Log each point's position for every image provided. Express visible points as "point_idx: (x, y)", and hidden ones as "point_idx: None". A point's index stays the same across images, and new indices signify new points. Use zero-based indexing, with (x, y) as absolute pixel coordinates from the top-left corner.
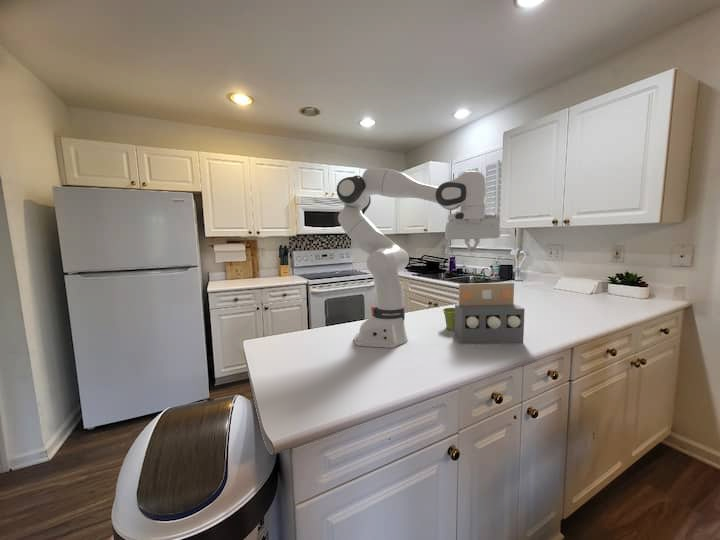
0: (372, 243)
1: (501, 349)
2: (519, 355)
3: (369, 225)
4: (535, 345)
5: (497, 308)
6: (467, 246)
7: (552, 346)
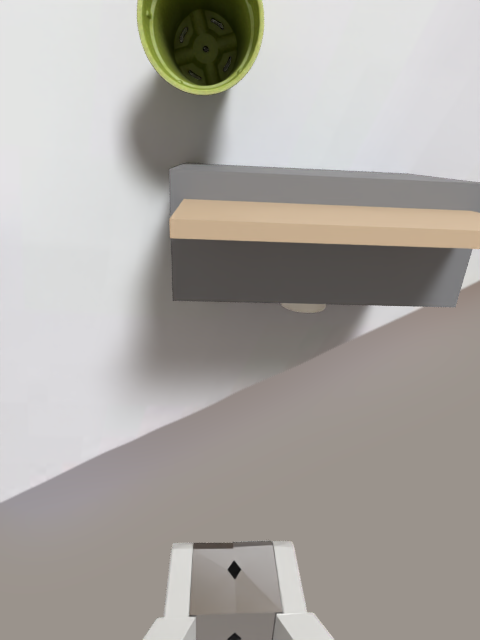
0: None
1: None
2: (318, 347)
3: None
4: None
5: (344, 291)
6: (164, 616)
7: None
